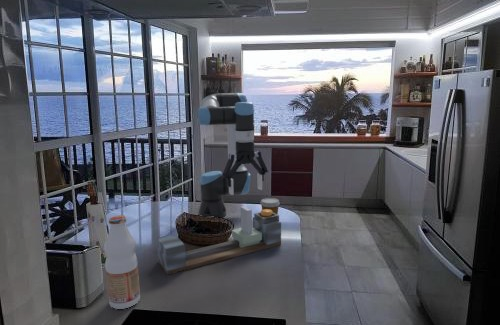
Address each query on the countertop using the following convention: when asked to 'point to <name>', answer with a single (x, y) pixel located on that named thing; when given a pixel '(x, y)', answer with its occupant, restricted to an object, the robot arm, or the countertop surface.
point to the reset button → (266, 213)
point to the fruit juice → (121, 265)
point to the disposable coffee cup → (270, 204)
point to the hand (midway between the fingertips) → (245, 191)
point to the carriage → (246, 230)
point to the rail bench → (221, 255)
